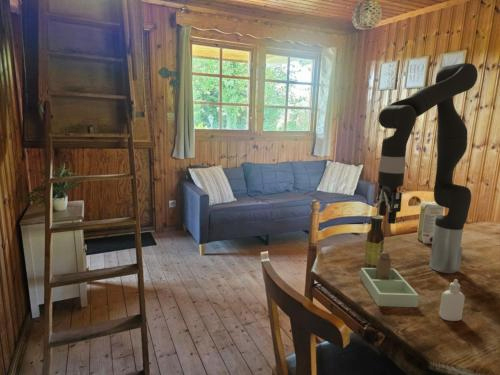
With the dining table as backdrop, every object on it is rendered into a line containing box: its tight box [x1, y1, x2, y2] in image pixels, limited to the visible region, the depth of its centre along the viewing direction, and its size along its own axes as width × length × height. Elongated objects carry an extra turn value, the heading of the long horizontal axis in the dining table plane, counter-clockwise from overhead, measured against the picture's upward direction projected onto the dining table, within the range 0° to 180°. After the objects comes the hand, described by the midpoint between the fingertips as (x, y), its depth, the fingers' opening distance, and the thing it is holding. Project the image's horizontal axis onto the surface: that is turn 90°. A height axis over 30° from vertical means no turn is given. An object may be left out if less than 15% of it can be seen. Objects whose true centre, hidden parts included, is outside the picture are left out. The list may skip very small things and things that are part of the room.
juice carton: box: [416, 200, 445, 245], centre depth 152 cm, size 8×9×19 cm
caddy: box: [359, 251, 420, 308], centre depth 107 cm, size 12×18×12 cm, turn 179°
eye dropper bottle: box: [438, 278, 466, 322], centre depth 93 cm, size 4×6×12 cm
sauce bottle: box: [364, 215, 385, 268], centre depth 124 cm, size 7×6×20 cm
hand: (386, 219), depth 106 cm, fingers open, 8 cm apart
